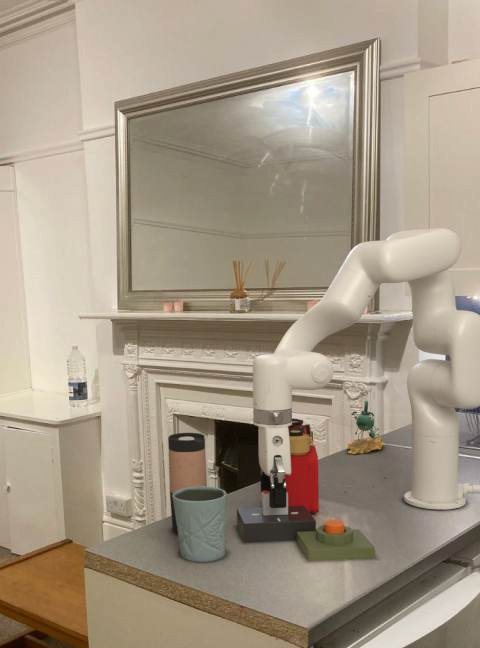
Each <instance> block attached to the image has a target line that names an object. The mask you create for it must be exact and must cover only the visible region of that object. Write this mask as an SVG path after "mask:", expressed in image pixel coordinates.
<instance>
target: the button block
mask: <svg viewBox="0 0 480 648" xmlns="http://www.w3.org/2000/svg"><path fill="white" fill-rule="evenodd" d="M296 544H297V545H298V547H299V548H300V550H301V551H302V554H304V556H305V558H306V559H307V561H308V562H317V561H319V562H320V561H343V560H345V561H346V560H365V559H368V560H369V559H370V560H371V559H376V548H375V546H374V544H373V543H372V542H371V541H370V539H368V538H367V537H366V536H365V535H364V533H362V531H361V530H360V528H359V529H358V528H356V529H355V528H354V529H352V528H351V527H349V526H346V525H344V533H341V534H331V533H327V532H324V524H323V525H319V526H318V527H316V531H307V532H297V541H296Z"/></svg>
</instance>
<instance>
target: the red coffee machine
mask: <svg viewBox="0 0 480 648" xmlns="http://www.w3.org/2000/svg"><path fill="white" fill-rule="evenodd" d="M310 425H311V424H309V423H308V424H304V419H300V418H295V417H292V425H290V426H288V430H289V439H290V456H291V475H290V476H287V475H286V474H285V480H286V491H287V493H288V506H305V507H306V509H307V510H308V511H309V512H310V514H312V513H313V514H314V513H315V514H316V513H317V514H319V513H320V512H319V510H320V500H319V498H320V496H319V494H320V493H319V488H320V487H319V486H320V485H319V456H318V451H317V448H316V445H314V444H311V443H313V436H312V427H311V426H310Z"/></svg>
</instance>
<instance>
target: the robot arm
mask: <svg viewBox="0 0 480 648" xmlns="http://www.w3.org/2000/svg"><path fill="white" fill-rule="evenodd" d="M461 254H462V243H461V240H460V237H459V235H458V234H456V233H455V232H454V231H453V230H451V229H449V228H446V227H445V228H444V227H435V228H422V229H407V230H401V231H397V232H393V233H392V234H390V235H389V236H388V237H387V238H385V239H383V240H369V241H368V240H367V241H364V242H360V243H358V244H357V245H355V246H354V247H353V248H352V249H351V250H350V251H349V253H348V254H347V256H346V258H345V259H344V261H343V263H342V264H341V266H340V268H339V270H338V271H337V273H336V275H335V276H334V278H333V279H332V281H331V283H330V285H329V287H328V288H327V290H326V291H325V293H324V295H323V296H322V298H321V299H320V300H319V301H318V302H316V304H315V305H313V306H312V307H311V308H310V309H308V310H307V311H306V312H305V313H304V314H303V315H301V316H300V317H299V318H298V319H297V320H296V321H295V322H294V323H293V324H291V326H290V327H289V328H288V330H286V331H285V333H284V335H283V336H282V338H281V340H280V341H279V343H278V345H277V347H276V348H275V350H274V352H273V353H269V354H267V353H266V354H260V355H257V356H255V357H254V359H253V361H252V414H253V415H252V420H253V422H252V423H253V425H254V426H256V427H258V439H257V440H258V445H257V446H258V447H257V448H258V449H257V450H258V464H259V467H260V493H261V492H263V491H268V492H269V504H270V507H271V508H285V507H286V480H285V474H286V475H287V476H290V475H291V456H290V439H289V430H288V426H290V425H292V418H293V390H302V391H316V390H320V389H323V388H325V387H327V386H328V385H329V384H330V382H331V381H332V379H333V377H334V373H335V370H334V365H333V363H332V361H331V360H330V359H329V358H328V357H327V356H326V355H324V354H322V353H319V352H314V351H313V350H314V348H315V347H317V346H318V344H319V343H321V342H322V341H323V340H324V339H326V338H327V337H329V336H332V335H334V334H335V333H338V332H341V331H342V330H345V329H347V328H349V327H352V326H353V325H354V324H356V323H358V322H359V320H360V319H362V316H363V315H364V313H365V311H366V309H367V307H368V306H369V305H370V302H371V301H372V299H373V298H374V295H375V294H376V293H377V291H378V289H379V288H380V286H381V285H382V284H400V283H406V282H407V284H408V286H409V288H410V293H411V305H412V306H411V307H412V308H411V311H412V338H413V342H414V345H415V347H416V348H417V349H418V350H419V351H421V352H424V353H428V354H432V355H440V356H448V357H449V360H445V359H436V358H428V359H422V360H420V361H418V362H416V363H414V365H413V366H412V367H411V368H410V369H409V371H408V374H407V379H406V388H407V393H408V394H407V395H408V398H409V402H410V403H409V404H410V411H411V490H409V491H407V492H405V493H404V495H403V500H404V502H405V503H407V504H408V505H409V506H413V507H416V508H421V509H426V510H435V511H436V510H440V511H441V510H443V511H445V510H447V511H448V510H455V509H460V508H462V507H464V506H466V504H467V497H466V496H467V494H472V495H474V494H480V484H471V483H470V482H461V481H459V464H460V463H459V459H460V456H459V455H460V423H459V422H460V421H459V417H458V414H457V411H456V409H460V410H475V409H477V408H479V407H480V314H479V313H477V312H474V311H470V310H464V309H463V310H462V309H461V310H460V309H457V303H456V291H455V283H454V280H453V277H452V275H451V272H450V271H449V269H451V268H452V267H453V266H455V265H456V263H457V262H458V260H459V259H460V257H461Z"/></svg>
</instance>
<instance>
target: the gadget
mask: <svg viewBox="0 0 480 648" xmlns="http://www.w3.org/2000/svg"><path fill="white" fill-rule="evenodd" d="M236 525H237V526H236V527H237V529H238V531H239V534H240V536H241V538H242V541H243V542H244V543H245V544H247V543H250V544H251V543H271V542H272V543H274V542H294V541H295V542H297V532H307V531H316V529H317V521H316V519H315V518H314V516H313V515H312V513H310V512H309V511H308V510H307V509H306V507H305V506H288V515H265V516H263V514H262V506H261V507H239V508H236Z"/></svg>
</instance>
